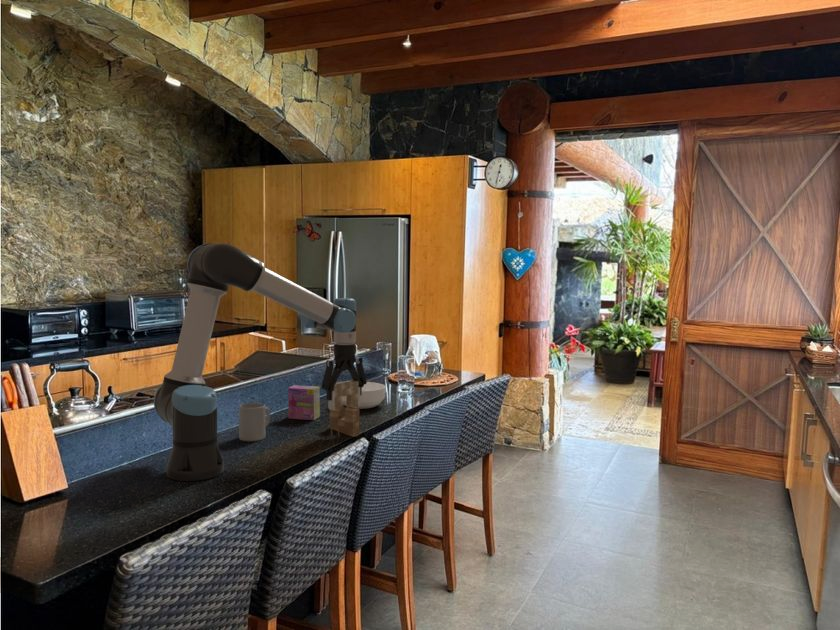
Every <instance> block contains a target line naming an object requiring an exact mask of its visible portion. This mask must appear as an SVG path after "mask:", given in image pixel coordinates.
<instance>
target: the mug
mask: <svg viewBox="0 0 840 630" xmlns="http://www.w3.org/2000/svg"><path fill="white" fill-rule="evenodd" d="M270 420H271V412H270V409H269V407H268V406H266V404H265V403H261V402H246V403H245V402H244V403H241V404H239V406H238V438H239V440H240V441H243V442H259V441H263V440H264V439H266V427H267V426H268V425H269V424H270Z"/></svg>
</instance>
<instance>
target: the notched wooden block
mask: <svg viewBox="0 0 840 630" xmlns="http://www.w3.org/2000/svg"><path fill="white" fill-rule="evenodd" d="M329 429H331V430H334V431H336V432H338V433H342V434H345V435H347V436H350V437H358V436H360V409H358V408H353V407H347V406H346V407H345V405H344V404H342V409H341V410H336V411H334V410H330V409H329Z"/></svg>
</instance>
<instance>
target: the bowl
mask: <svg viewBox="0 0 840 630" xmlns="http://www.w3.org/2000/svg"><path fill="white" fill-rule="evenodd" d="M385 398H386V385H385V384H383V383H380V382H373V381H367V383H366V384H364V387H362V394H361V396H360V406H358V407H353V408H356V409H359V410H361V409H371V408H375V407H377V406H378V405H379V404H381V403H382V401H383V400H384V399H385ZM342 404H343V405H344V407H345V406H346V407H347V396H342Z"/></svg>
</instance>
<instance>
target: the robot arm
mask: <svg viewBox="0 0 840 630" xmlns="http://www.w3.org/2000/svg"><path fill="white" fill-rule="evenodd" d="M187 257H188V258H187V261H186V262H187V263H186V266H187V268H186V269H187V271H188V278H187V281H186V285H187V287H188V289H189V290H190V293H189V296H188V301H187V305H186V309H185V312H184V317H183V321H182V326H181V328H180V334H179V337H178V342H177V345H176V350H175V355H174V358H173V364H172V366H171V369H170V371H169V372H167V373H166V374H164V375H163V380H162V385H161V386H159V388H158V389H157V390H156V392H155V394H154V397H153V406H154V410H155V412H156V414H157V415H158V416H159V417H160V419H161V420H162V421H164V422H166V423H167V424H169V425H171V427H172V448H171V451H170V453H169V454H170V455H169V457H168V461H167V464H166V467H165V470H166V471H165V472H166V473H165V474H166V477H167V478H169V479H171V480H174V481H180V482H195V481H204V480H208V479H212V478H215V477H218V476H220V475H221V474H223V472H224V471H225V461H224V458H223V455H222V453H221V450H220V447H219V443H218V404H219V403H218V402H219V401H218V397H217V392H216V391H215V390H214V388H212V387H209V386H207V385H206V381H205V379H204V378H203V372H204V369H205V365H206V364H205V363H206V359H207V356H208V350H209V346H210V342H211V338H212V335H213V330H214V325H215V323H216V318H217V315H218V314H217V312H218V309H219V306H220V301H221V298H222V297H223V296H225V295H226V294H227V293H228V290H229V287H230V286H231V287H235V288H238V289H241V290H243V291H245V292H251V291H252V292H254V293H257V294H259V295H261V296H263V297H266V298H267V299H269V300H271V301H273V302H276V303H278V304H279V305H281V306H284V307H286V308H288V309H290V310H292V311H294V312H296V313H298V314H299V315H300V322H301V325H302V327H304V328H305V329H323V330H328V331H333V343H334V344H333V354H334V357H333V360H332V359H331V360H328V359H327V360H325V361H326V362H325V367H326V368H325V370H324V371H325V372H324V375H323V379H322V383H321V386H320V389H321V390H324V391H326V400H327V402H328V403H327V407H328V410H329V411H330V410H335V391H332V390H333V388H334V385H335V384H336V383H337V381H338V379H339V378H340V375H341V374H342V372H345V371H348V372H349V375H350V376H351V378H352V380H355V381H358V406H360V396H361V394H362V387H364V384H366V383H367V382H368V381H367V378H366V377H367V376H366V375H365V370H364V366H363V364H364V363H363V359H364V358H363V357H360V356H357V357H356V354H357V350H356V349H357V345H356V342H357V302H356V300H355V299H354V298H352V297H351V298H349V297H339V298H338V297H337V298H334V301H333V302H331V301H330V300H328V299H326V298H324V297H322V296H320V295H319V294H316V293H314V292H312V291H311V290H308V289H307V288H305V287H303V286H301V285H300V284H297V283H295V282H293V281H292V280H290V279H287V278H286V277H284V276H283V275H280V274H278V273H277V272H275V271H272V270H271V269H269V268H266V267H265V264H264V262H262V261H261V260H259V259H258V258H256V257H254V256H253V255H250V254H249V253H247V252H245V251H244V250H243V249H240V248H239V247H237V246H234V245H232V244H229V243H222V242H221V243H211V242H210V243H208V242H207V243H203V244H201V245H198V246H197V247H196V248H194V249H193V250H192V251H190V253H189V255H188V256H187Z"/></svg>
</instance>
